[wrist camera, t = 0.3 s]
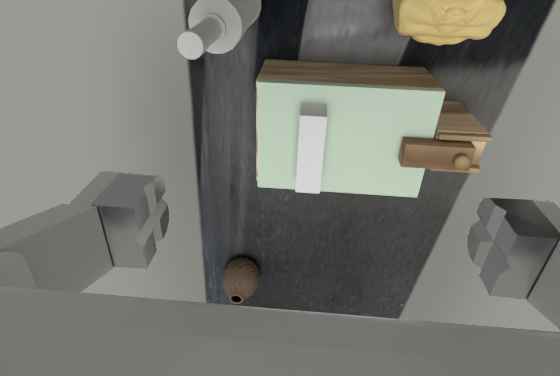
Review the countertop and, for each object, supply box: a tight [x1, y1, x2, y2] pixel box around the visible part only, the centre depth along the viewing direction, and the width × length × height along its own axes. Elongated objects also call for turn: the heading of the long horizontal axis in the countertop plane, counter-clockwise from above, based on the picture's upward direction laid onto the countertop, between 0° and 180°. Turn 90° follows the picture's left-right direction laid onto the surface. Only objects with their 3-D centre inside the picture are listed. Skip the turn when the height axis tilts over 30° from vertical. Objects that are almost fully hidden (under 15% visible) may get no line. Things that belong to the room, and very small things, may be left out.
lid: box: [257, 79, 446, 197], centre depth 46 cm, size 14×21×5 cm
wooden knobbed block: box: [398, 137, 476, 171], centre depth 45 cm, size 3×8×3 cm, turn 88°
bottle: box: [177, 0, 261, 59], centre depth 39 cm, size 5×5×25 cm
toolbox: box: [256, 59, 492, 181], centre depth 52 cm, size 14×28×12 cm, turn 88°
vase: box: [222, 258, 259, 304], centre depth 72 cm, size 7×7×9 cm
